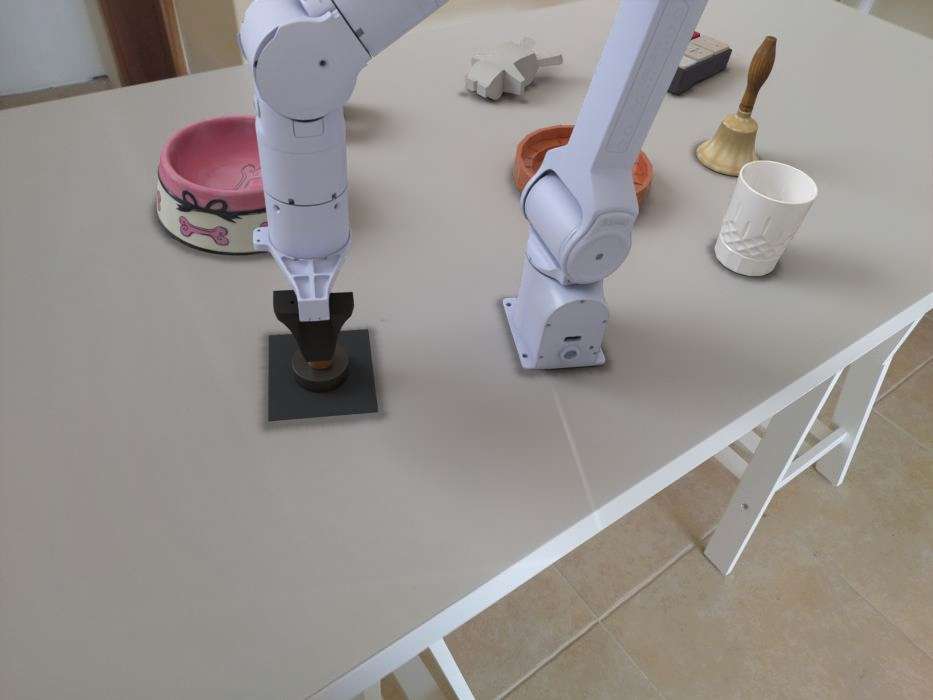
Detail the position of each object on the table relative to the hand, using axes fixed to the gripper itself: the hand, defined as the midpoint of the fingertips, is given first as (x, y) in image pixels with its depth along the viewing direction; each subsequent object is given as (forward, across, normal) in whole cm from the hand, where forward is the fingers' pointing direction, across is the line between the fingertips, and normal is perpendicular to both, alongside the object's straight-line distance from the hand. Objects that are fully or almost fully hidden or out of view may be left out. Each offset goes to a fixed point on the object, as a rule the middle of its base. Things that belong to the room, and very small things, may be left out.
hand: (316, 324), depth 60 cm
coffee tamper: (+6, 0, 0) cm, 6 cm away
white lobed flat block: (+6, -54, +29) cm, 62 cm away
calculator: (+4, -59, +56) cm, 82 cm away
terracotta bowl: (+6, -28, +32) cm, 43 cm away
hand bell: (+6, -33, +54) cm, 64 cm away
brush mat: (+6, 0, 0) cm, 6 cm away
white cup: (+6, -13, +47) cm, 49 cm away
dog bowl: (+6, -26, -7) cm, 28 cm away
